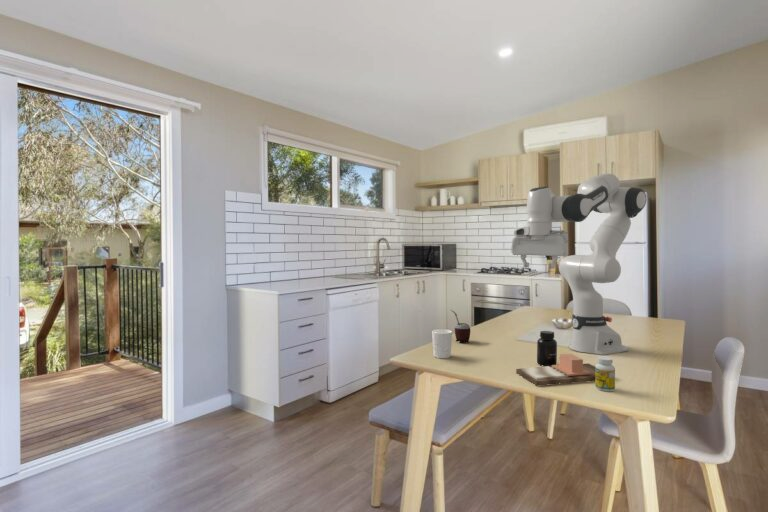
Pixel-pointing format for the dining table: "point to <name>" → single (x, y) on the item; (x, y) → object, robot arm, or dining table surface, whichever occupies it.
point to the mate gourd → (462, 331)
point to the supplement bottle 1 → (547, 349)
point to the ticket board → (554, 375)
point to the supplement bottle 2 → (605, 374)
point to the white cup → (442, 343)
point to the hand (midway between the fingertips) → (538, 267)
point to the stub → (571, 365)
